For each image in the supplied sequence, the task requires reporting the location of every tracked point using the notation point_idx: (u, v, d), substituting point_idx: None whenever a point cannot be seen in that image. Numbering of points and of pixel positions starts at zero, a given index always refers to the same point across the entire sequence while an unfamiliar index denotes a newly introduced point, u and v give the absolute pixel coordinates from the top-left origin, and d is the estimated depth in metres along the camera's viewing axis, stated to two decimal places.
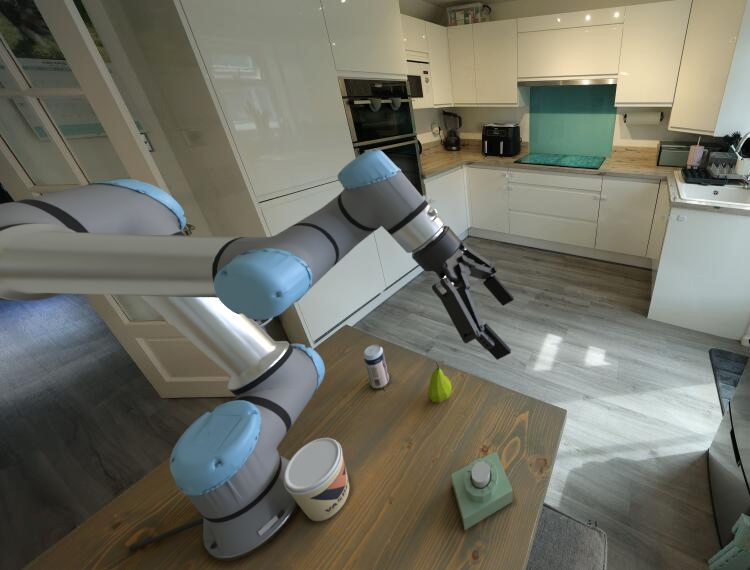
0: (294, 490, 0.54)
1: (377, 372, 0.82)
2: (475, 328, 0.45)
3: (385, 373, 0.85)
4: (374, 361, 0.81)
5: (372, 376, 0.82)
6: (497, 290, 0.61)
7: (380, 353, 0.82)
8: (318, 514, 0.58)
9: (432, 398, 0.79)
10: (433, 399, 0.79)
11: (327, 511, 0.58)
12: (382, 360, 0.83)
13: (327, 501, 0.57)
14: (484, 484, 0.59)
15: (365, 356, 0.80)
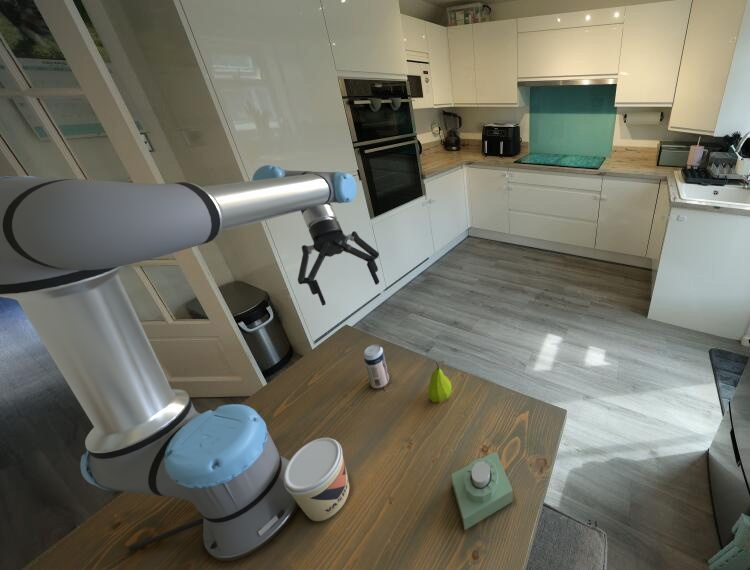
0: (294, 490, 0.54)
1: (377, 372, 0.82)
2: None
3: (385, 373, 0.85)
4: (374, 361, 0.81)
5: (372, 376, 0.82)
6: None
7: (380, 353, 0.82)
8: (318, 514, 0.58)
9: (432, 398, 0.79)
10: (433, 399, 0.79)
11: (327, 511, 0.58)
12: (382, 360, 0.83)
13: (327, 501, 0.57)
14: (484, 484, 0.59)
15: (365, 356, 0.80)
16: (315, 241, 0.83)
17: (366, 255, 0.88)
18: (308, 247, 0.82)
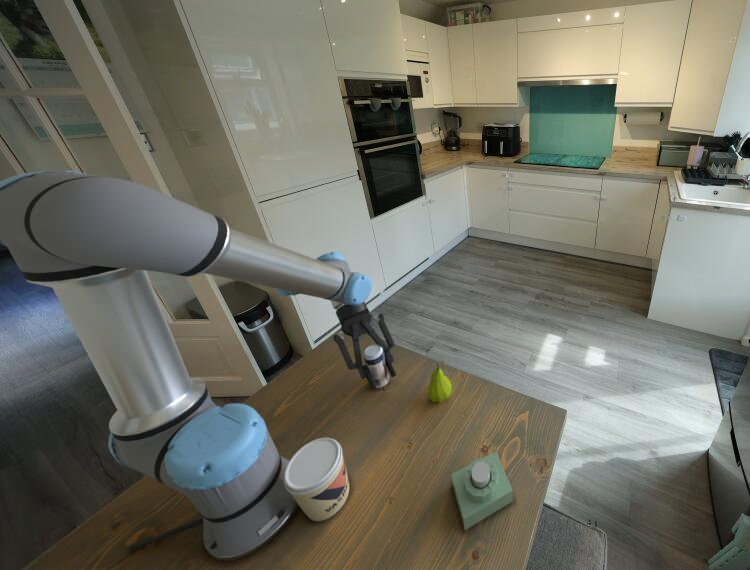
0: (294, 490, 0.54)
1: (377, 372, 0.82)
2: None
3: (385, 373, 0.85)
4: (374, 361, 0.81)
5: (372, 376, 0.83)
6: None
7: (380, 353, 0.82)
8: (318, 514, 0.58)
9: (432, 398, 0.79)
10: (433, 399, 0.79)
11: (327, 511, 0.58)
12: (382, 360, 0.83)
13: (327, 501, 0.57)
14: (484, 484, 0.59)
15: (365, 356, 0.80)
16: (343, 324, 0.83)
17: (384, 344, 0.86)
18: (338, 334, 0.82)
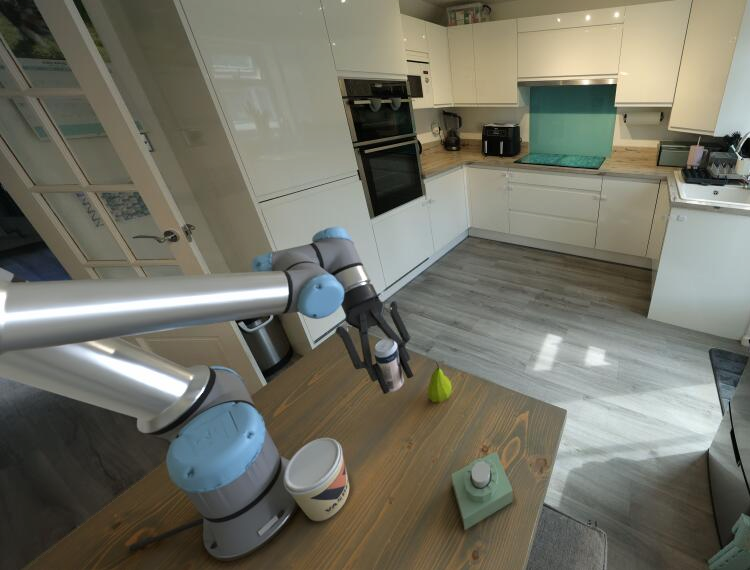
0: (294, 490, 0.54)
1: (390, 372, 0.67)
2: (403, 337, 0.73)
3: (399, 373, 0.69)
4: (387, 359, 0.65)
5: (384, 377, 0.67)
6: None
7: (394, 349, 0.66)
8: (318, 514, 0.58)
9: (432, 398, 0.79)
10: (433, 399, 0.79)
11: (327, 511, 0.58)
12: (396, 357, 0.67)
13: (327, 501, 0.57)
14: (484, 484, 0.59)
15: (376, 353, 0.65)
16: (348, 313, 0.68)
17: (398, 339, 0.70)
18: (342, 326, 0.67)
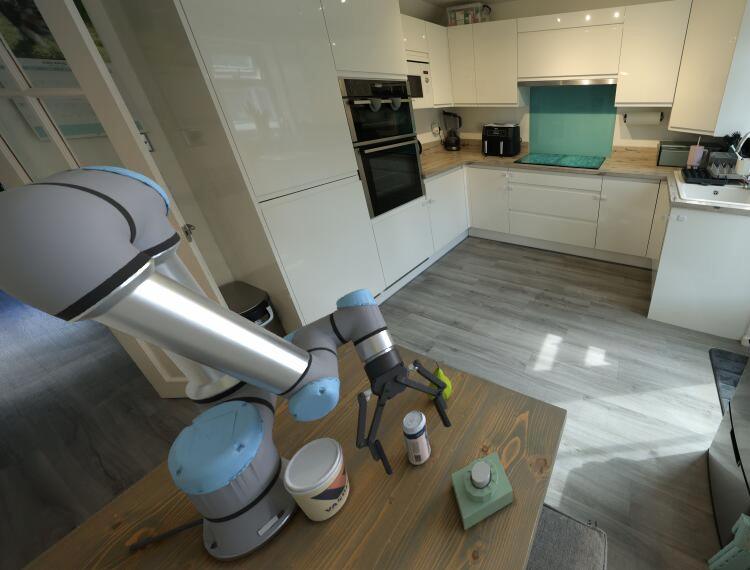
0: (294, 490, 0.54)
1: (418, 447, 0.65)
2: None
3: (427, 445, 0.68)
4: (416, 435, 0.64)
5: (412, 451, 0.66)
6: None
7: (423, 423, 0.65)
8: (318, 514, 0.58)
9: (432, 398, 0.79)
10: None
11: (327, 511, 0.58)
12: (424, 431, 0.66)
13: (327, 501, 0.57)
14: (484, 484, 0.59)
15: (404, 429, 0.63)
16: (373, 383, 0.66)
17: (433, 390, 0.71)
18: (365, 393, 0.65)
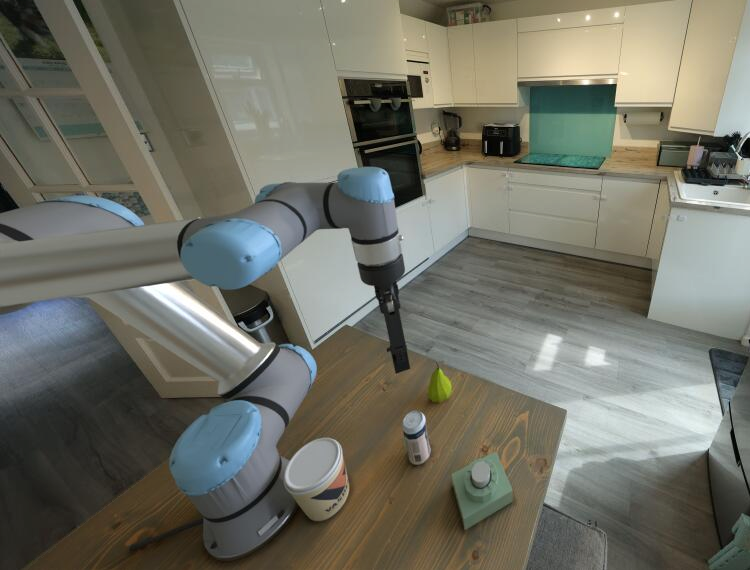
0: (294, 490, 0.54)
1: (418, 447, 0.65)
2: None
3: (427, 445, 0.68)
4: (416, 435, 0.64)
5: (412, 451, 0.66)
6: None
7: (423, 423, 0.65)
8: (318, 514, 0.58)
9: (432, 398, 0.79)
10: (433, 399, 0.79)
11: (327, 511, 0.58)
12: (424, 431, 0.66)
13: (327, 501, 0.57)
14: (484, 484, 0.59)
15: (404, 429, 0.63)
16: None
17: None
18: None
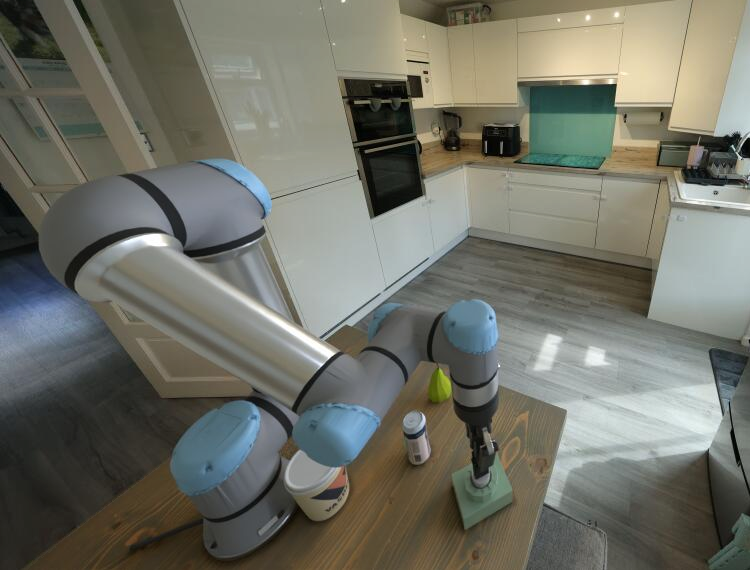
0: (294, 490, 0.54)
1: (418, 447, 0.65)
2: None
3: (427, 445, 0.68)
4: (416, 435, 0.64)
5: (412, 451, 0.66)
6: None
7: (423, 423, 0.65)
8: (318, 514, 0.58)
9: (432, 398, 0.79)
10: (433, 399, 0.79)
11: (327, 511, 0.58)
12: (424, 431, 0.66)
13: (327, 501, 0.57)
14: (484, 485, 0.59)
15: (404, 429, 0.63)
16: None
17: (475, 456, 0.55)
18: None
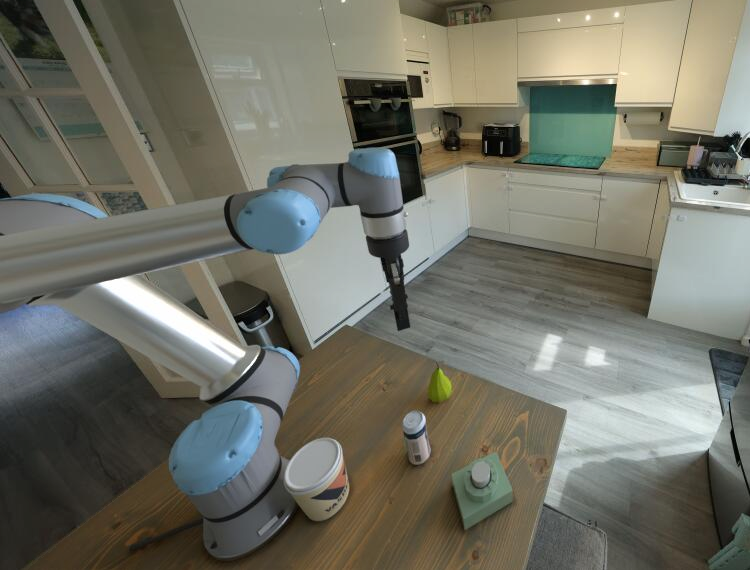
0: (294, 490, 0.54)
1: (418, 447, 0.65)
2: (406, 303, 0.64)
3: (427, 445, 0.68)
4: (416, 435, 0.64)
5: (412, 451, 0.66)
6: None
7: (423, 424, 0.65)
8: (318, 514, 0.58)
9: (432, 398, 0.79)
10: (433, 399, 0.79)
11: (327, 511, 0.58)
12: (424, 431, 0.66)
13: (327, 501, 0.57)
14: (484, 484, 0.59)
15: (404, 429, 0.63)
16: None
17: None
18: None
